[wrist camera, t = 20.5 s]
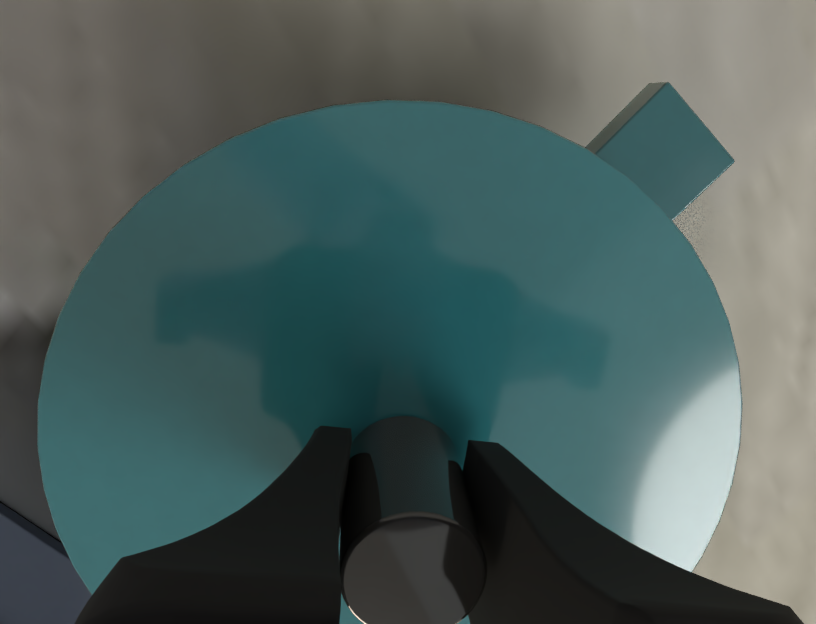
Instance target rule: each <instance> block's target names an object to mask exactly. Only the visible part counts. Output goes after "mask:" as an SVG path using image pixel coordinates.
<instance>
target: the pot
mask: <svg viewBox="0 0 816 624" xmlns="http://www.w3.org/2000/svg"><path fill="white" fill-rule="evenodd" d="M585 148H587V149H588V150H590V151H591V152H593V153H594V154H596V155H597V156H598V157H600V158H601V159H603V160H604V161H606V162H607V163H609V164H610V165H612V166H613V167H615V168H616V169H618V170H619V171H621V172H622V173H624V174H625V175H626V176H628V177H629V178H630V179H631V180H632V181H633V182H634V183H635V184H636V185H637V186H639V187H640V188H641V189H642V190H643V191H644V192H645V193H646V194H647V195H648V196H649V197H651V198H652V199H653V200H654V201H655V202H656V203H657V204H658V205H659V206H660V207H661V208H662V209H663V210H664V211H665V212H666V214H667V215H668V216H669V217H670V219H671V220H672V221H673V220H674V219H675V218H676V217H677V216H678V215H679V214H680V213H681V212H682V211H683V210H685V209H686V208H687V207H688V206H689V205H690V204H691V203H692V202H693V201H694V200H695V199H696V198H697V197H698V196H699V195H700V194H701V193H702V192H703V191H705V190H706V189H707V188H708V187H709V186H710V185H711V184H712V183H713V182H714V181H715V180H716V179H717V178H718V177H719V176H720V175H721V174H722V173H723V172H725V171H726V170H727V169H728V168H729V167H730V166H731V165H732V164H733V163H734V159H733V158H732V157H731V155H730V154H729V153H728V152H727V151H726V149H725V148H724V147H723V146H722V145H721V144H720V142H719V141H718V140H717V139H716V138H715V136H714V135H713V134H712V133H711V132H710V130H709V129H708V128H707V127H706V126H705V125H704V123H703V122H702V121H701V120H700V119H699V117H698V116H697V115H696V114H695V113H694V111H693V110H692V109H691V108H690V107H689V106H688V104H687V103H686V102H685V101H684V100H683V98H682V97H681V96H680V95H679V94H678V92H677V91H676V90H675V89H674V88H673V87H672V85H671V84H670V83H669V82H659V83H649V84H648V85H647V86H646V87H645V88H644V89H643V90H642V91H641V92H640V93H639V94H638V95H637V96H636V97H635V98H634V99H633V100H632V101H631V102H630V103H629V104H628V105H627V106H626V107H625V108H624V109H623V110H622V111H621V112H620V113H619V114H618V115H617V116H616V117H615V118H614V119H613V120H612V121H611V122H610V123H609V124H608V125H607V126H606V127H605V128H604V129H603V130H602V131H601V132H600V133H599V134H598V135H597V136H596V137H595V138H594V139H593V140H592V141H591V142H590V143H589V144H588V145H587V146H586V147H585Z"/></svg>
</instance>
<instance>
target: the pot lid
mask: <svg viewBox="0 0 816 624" xmlns="http://www.w3.org/2000/svg"><path fill="white" fill-rule="evenodd" d="M741 421H742V393H741V382H740V370H739V362H738V357H737V353H736V349H735V345H734V341H733V336H732V332H731V328H730V324H729V320H728V318H727V315H726V313H725V310H724V308H723V305H722V303H721V300H720V298H719V295H718V293H717V290H716V288H715V285H714V283H713V281H712V279H711V277H710V276H709V274H708V272H707V271H706V269H705V267H704V265H703V264H702V262H701V260H700V259H699V257H698V255H697V254H696V252H695V250H694V248H693V247H692V245H691V243H690V242H689V241H688V240H687V238H686V237H685V236H684V235H683V233H682V232H681V231H680V230H679V229H678V227H677V226H676V225H675V224H674V222H673V221H672V220H671V219H670V217H669V216H668V215H667V214H666V212H665V211H664V210H663V209H662V208H661V207H660V206H659V205H658V204H657V203H656V202H655V201H654V200H653V199H652V198H651V197H649V196H648V195H647V194H646V193H645V192H644V191H643V190H642V189H641V188H640V187H639V186H637V185H636V184H635V183H634V182H633V181H632V180H631V179H630V178H629V177H628V176H626V175H625V174H624V173H622V172H621V171H619V170H618V169H616V168H615V167H613V166H612V165H610V164H609V163H607V162H606V161H604V160H603V159H601V158H600V157H598V156H597V155H596V154H594V153H593V152H591V151H590V150H588V149H587V148H585V147H583V146H581V145H579V144H577V143H574V142H572V141H570V140H568V139H566V138H564V137H562V136H560V135H558V134H556V133H554V132H552V131H550V130H548V129H546V128H544V127H542V126H539V125H536V124H532V123H529V122H526V121H523V120H520V119H517V118H514V117H511V116H508V115H504V114H501V113H498V112H495V111H492V110H486V109H481V108H475V107H469V106H463V105H457V104H452V103H446V102H440V101H412V100H378V101H368V102H359V103H349V104H340V105H331V106H327V107H323V108H319V109H315V110H311V111H307V112H303V113H299V114H295V115H291V116H287V117H283V118H279V119H277V120H274V121H272V122H269V123H267V124H264V125H262V126H259V127H257V128H254V129H252V130H249V131H247V132H244V133H242V134H239V135H236V136H234V137H231V138H229V139H228V140H226V141H224V142H222V143H221V144H219V145H217V146H215V147H214V148H212V149H210V150H208V151H207V152H205V153H203V154H201V155H200V156H198V157H196V158H194V159H193V160H191V161H189V162H187V163H186V164H184V165H183V166H181V167H180V168H179V169H178V170H176V171H175V172H174V173H172V174H171V175H170V176H169V177H167V178H166V179H165V180H163V181H162V182H161V183H160V184H158V185H157V186H156V187H154V188H153V189H152V190H151V191H149V192H148V193H147V194H145V195H144V196H143V197H142V198H141V199H140V200H139V201H138V202H137V203H136V204H135V205H134V206H133V208H132V209H131V210H130V211H129V212H128V213H127V214H126V215H125V216H124V217H123V218H122V219H121V220H120V221H119V222H118V223H117V224H116V225H115V226H114V227H113V228H112V229H111V230H110V232H109V233H108V234H107V235H106V237H105V238H104V240H103V241H102V242H101V244H100V245H99V247H98V248H97V250H96V251H95V252H94V254H93V255H92V257H91V258H90V259H89V261H88V262H87V264H86V265H85V266H84V268H83V269H82V271H81V272H80V274H79V276H78V278H77V280H76V282H75V284H74V286H73V288H72V290H71V292H70V294H69V296H68V298H67V300H66V302H65V304H64V306H63V308H62V310H61V312H60V314H59V316H58V320H57V323H56V326H55V329H54V332H53V335H52V338H51V341H50V344H49V347H48V350H47V353H46V357H45V361H44V367H43V373H42V380H41V386H40V392H39V398H38V440H37V447H38V454H39V461H40V468H41V475H42V482H43V489H44V492H45V495H46V499H47V502H48V505H49V509H50V512H51V515H52V519H53V522H54V525H55V529H56V531H57V533H58V535H59V537H60V539H61V542H62V544H63V546H64V548H65V550H66V552H67V554H68V557H69V559H70V561H71V563H72V565H73V567H74V569H75V570H76V572H77V573H78V575H79V576H80V578H81V579H82V581H83V582H84V584H85V585H86V587H87V589H88V590H89V592H90V593H91V595H93V593H94V592H95V591H96V589H97V588H98V587H99V585H100V584H101V583H102V581H103V580H104V579H105V577H106V576H107V575H108V574H109V572H110V571H111V570H112V568H113V567H114V566H115V565H116V563H117V562H118V561H119V560H120V559H121V558H122V557H125V556H130V555H133V554H137V553H140V552H144V551H147V550H150V549H154V548H157V547H160V546H164V545H167V544H170V543H172V542H175V541H178V540H180V539H183V538H185V537H188V536H190V535H193V534H195V533H197V532H199V531H201V530H204V529H206V528H208V527H210V526H212V525H214V524H215V523H217V522H219V521H221V520H222V519H224V518H226V517H228V516H229V515H231V514H233V513H234V512H236V511H238V510H240V509H241V508H242V507H244V506H245V505H246V504H248V503H249V502H250V501H252V500H253V499H254V498H255V497H257V496H258V495H259V494H260V493H262V492H263V491H264V490H265V489H266V488H267V487H268V486H269V485H270V484H271V483H272V482H273V481H274V480H276V479H277V478H278V477H279V476H280V475H281V474H282V473H283V472H284V471H285V470H286V469H287V467H288V466H289V465H290V464H291V463H292V462H293V460H294V459H295V458H296V457H297V456H298V455H299V453H300V452H301V451H302V450H303V448H304V447H305V445H306V444H307V443H308V441H309V440H310V438H311V436H312V435H313V433H314V430H315V429H317V428H318V427H319V426H331V427H341V428H351V433H352V444H351V452H350V459H349V467H348V475H347V482H346V490H345V496H344V502H343V508H342V515H341V529H340V536H339V566H340V577H341V584H342V587H341V612H340V622H339V624H470V621H469V617H468V614H469V613H470V612H471V611H472V610H473V608H474V607H475V606H476V604H477V603H478V601H479V599H480V598H481V595H482V593H483V590H484V588H485V584H486V580H487V571H488V569H487V560H486V556H485V552H484V548H483V544H482V541H481V537H480V533H479V530H478V526H477V523H476V519H475V515H474V512H473V508H472V504H471V501H470V497H469V493H468V490H467V486H466V482H465V479H464V475H463V466H464V461H465V455H466V450H467V445H468V440H475V441H486V442H496V443H499V444H500V445H502V446H503V447H504V448H506V449H507V450H508V451H509V452H511V453H512V454H513V455H514V456H515V457H516V458H517V459H519V460H520V461H521V462H522V463H523V464H524V465H525V466H527V467H528V468H529V469H530V470H531V471H532V472H533V473H535V474H536V475H537V476H538V477H539V478H540V479H542V480H543V481H544V482H545V483H546V484H548V485H549V486H550V487H551V488H552V489H554V490H555V491H556V492H557V493H559V494H560V495H561V496H562V497H564V498H565V499H566V500H567V501H569V502H570V503H571V504H573V505H574V506H575V507H577V508H578V509H580V510H581V511H582V512H584V513H585V514H586V515H588V516H589V517H591V518H592V519H593V520H595V521H596V522H598V523H599V524H601V525H603V526H604V527H606V528H607V529H609V530H611V531H612V532H614V533H616V534H617V535H619V536H620V537H622V538H624V539H625V540H627V541H629V542H631V543H632V544H634V545H636V546H638V547H640V548H641V549H643V550H645V551H647V552H649V553H651V554H653V555H655V556H657V557H659V558H661V559H663V560H665V561H667V562H669V563H671V564H674V565H676V566H678V567H680V568H683V569H685V570H687V571H689V572H692V571H693V570H694V568H695V567H696V565H697V564H698V562H699V561H700V559H701V558H702V556H703V554H704V552H705V550H706V548H707V546H708V544H709V542H710V540H711V538H712V536H713V534H714V532H715V529H716V527H717V525H718V523H719V521H720V519H721V516H722V513H723V510H724V507H725V504H726V501H727V498H728V495H729V492H730V489H731V486H732V483H733V478H734V473H735V468H736V463H737V458H738V453H739V448H740V439H741Z"/></svg>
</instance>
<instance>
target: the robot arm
mask: <svg viewBox="0 0 816 624" xmlns="http://www.w3.org/2000/svg"><path fill="white" fill-rule="evenodd" d="M351 444H352V433H351V428H341V427H331V426H319V427H318V428H317V429H315V430H314V433H313V435H312V436H311V438H310V440H309V441H308V443H307V444H306V445H305V447H304V448H303V450H302V451H301V452H300V453H299V455H298V456H297V457H296V458H295V459H294V460H293V462H292V463H291V464H290V465H289V466H288V467H287V469H286V470H285V471H284V472H283V473H282V474H281V475H280V476H279V477H278V478H277V479H276V480H274V481H273V482H272V483H271V484H270V485H269V486H268V487H267V488H266V489H265V490H264V491H263V492H262V493H260V494H259V495H258V496H257V497H255V498H254V499H253V500H252V501H250V502H249V503H248V504H246V505H245V506H244V507H242V508H241V509H240V510H238V511H236V512H234V513H233V514H231V515H229V516H228V517H226V518H224V519H222V520H221V521H219V522H217V523H215V524H214V525H212V526H210V527H208V528H206V529H204V530H201V531H199V532H197V533H195V534H193V535H190V536H188V537H185V538H183V539H180V540H178V541H175V542H172V543H170V544H167V545H164V546H160V547H157V548H154V549H150V550H147V551H144V552H140V553H137V554H133V555H130V556H125V557H122V558H121V559H120V560H119V561H118V562H117V563H116V565H115V566H114V567H113V568H112V570H111V571H110V572H109V574H108V575H107V576H106V577H105V579H104V580H103V581H102V583H101V584H100V585H99V587H98V588H97V589H96V591H95V592H94V593H93V595H92V596H91V597H90V599H89V600H88V602H87V603H86V605H85V606H84V608H83V609H82V611H81V613H80V614H79V616H78V618H77V620H76V622H75V624H339V622H340V612H341V587H342V584H341V577H340V566H339V536H340V529H341V515H342V508H343V502H344V496H345V490H346V482H347V475H348V467H349V459H350V452H351ZM463 475H464V479H465V482H466V486H467V490H468V493H469V497H470V501H471V504H472V508H473V512H474V515H475V519H476V523H477V526H478V530H479V533H480V537H481V541H482V544H483V548H484V552H485V556H486V560H487V569H488V571H487V580H486V584H485V588H484V590H483V593H482V595H481V598H480V599H479V601H478V603H477V604H476V606H475V607H474V608H473V610H472V611H471V612H470V613H469V614H468V617H469V621H470V624H804V623H803V622H802V621H801V620H800V619H799V617H798V616H797V615H796V614H795V613H794V611H793V610H792V609H791V608H790V607H789V606H786V605H782V604H779V603H776V602H773V601H770V600H767V599H764V598H761V597H757V596H754V595H751V594H748V593H745V592H742V591H739V590H735V589H732V588H730V587H727V586H724V585H722V584H719V583H717V582H714V581H712V580H709V579H707V578H704V577H701V576H699V575H696V574H694V573H692V572H689V571H687V570H685V569H683V568H680V567H678V566H676V565H674V564H671V563H669V562H667V561H665V560H663V559H661V558H659V557H657V556H655V555H653V554H651V553H649V552H647V551H645V550H643V549H641V548H640V547H638V546H636V545H634V544H632V543H631V542H629V541H627V540H625V539H624V538H622V537H620V536H619V535H617V534H616V533H614V532H612V531H611V530H609V529H607V528H606V527H604V526H603V525H601V524H599V523H598V522H596V521H595V520H593V519H592V518H591V517H589V516H588V515H586V514H585V513H584V512H582V511H581V510H580V509H578V508H577V507H575V506H574V505H573V504H571V503H570V502H569V501H567V500H566V499H565V498H564V497H562V496H561V495H560V494H559V493H557V492H556V491H555V490H554V489H552V488H551V487H550V486H549V485H548V484H546V483H545V482H544V481H543V480H542V479H540V478H539V477H538V476H537V475H536V474H535V473H533V472H532V471H531V470H530V469H529V468H528V467H527V466H525V465H524V464H523V463H522V462H521V461H520V460H519V459H517V458H516V457H515V456H514V455H513V454H512V453H511V452H509V451H508V450H507V449H506V448H504V447H503V446H502V445H500V444H499V443H496V442H486V441H475V440H468V445H467V450H466V455H465V461H464V466H463Z"/></svg>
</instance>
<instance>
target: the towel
mask: <svg viewBox="0 0 816 624" xmlns="http://www.w3.org/2000/svg"><path fill="white" fill-rule="evenodd" d="M91 596H92V595H91V593H90V592H89V590H88V589H87V587H86V585H85V584H84V582H83V581H82V579H81V578H80V576H79V575H78V573H77V572H76V570H75V569H74V567H73V565H72V563H71V561H70V559H69V557H68V554H67V552H66V550H65V548H64V546H63V544H62V543H60V542H59V541H57V540H56V539H54V538H53V537H51V536H50V535H48V534H47V533H45V532H44V531H42V530H41V529H39V528H38V527H36V526H35V525H33V524H32V523H30V522H29V521H27V520H26V519H24V518H23V517H21V516H20V515H18V514H17V513H15V512H14V511H12V510H11V509H9V508H8V507H6V506H5V505H3V504H2V503H0V624H75V622H76V620H77V618H78V616H79V614H80V613H81V611H82V609H83V608H84V606H85V605H86V603H87V602H88V600H89V599H90V597H91Z"/></svg>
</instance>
